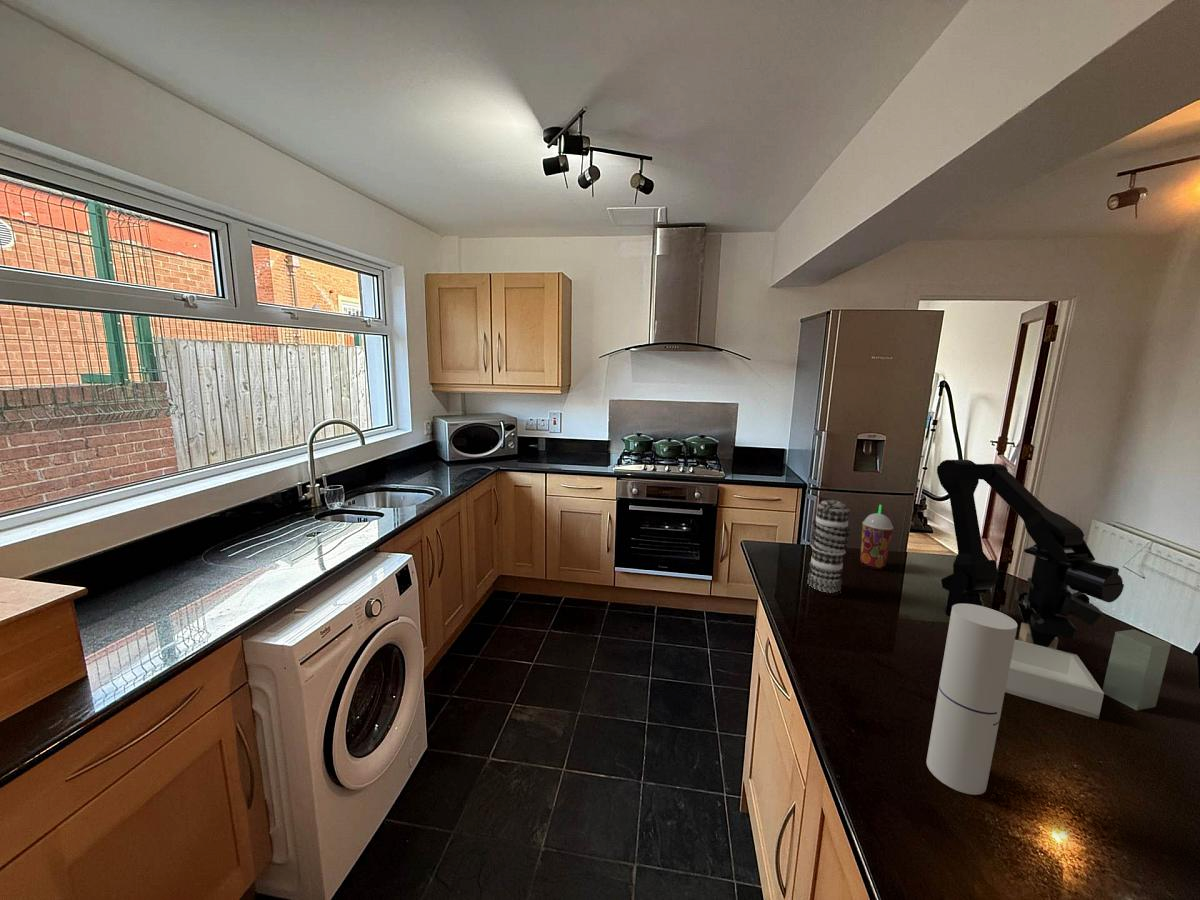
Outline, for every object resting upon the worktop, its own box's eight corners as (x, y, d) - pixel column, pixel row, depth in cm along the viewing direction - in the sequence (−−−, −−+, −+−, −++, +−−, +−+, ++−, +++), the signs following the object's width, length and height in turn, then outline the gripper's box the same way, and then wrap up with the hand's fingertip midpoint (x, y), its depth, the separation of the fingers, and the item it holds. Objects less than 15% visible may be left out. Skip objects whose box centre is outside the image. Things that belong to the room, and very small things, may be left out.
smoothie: (884, 564, 151) (892, 503, 148) (890, 574, 143) (899, 510, 140) (854, 559, 154) (862, 500, 150) (859, 569, 146) (868, 506, 143)
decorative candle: (809, 595, 127) (819, 504, 123) (802, 580, 136) (811, 496, 132) (846, 599, 125) (857, 508, 121) (836, 585, 134) (847, 499, 130)
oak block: (1022, 653, 102) (1027, 632, 102) (1017, 643, 107) (1021, 622, 106) (1053, 661, 100) (1058, 639, 99) (1047, 650, 104) (1051, 629, 103)
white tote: (969, 681, 92) (973, 658, 91) (960, 648, 104) (963, 626, 103) (1098, 719, 83) (1104, 693, 82) (1072, 677, 94) (1076, 654, 94)
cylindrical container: (915, 755, 73) (939, 603, 69) (957, 753, 74) (984, 603, 70) (952, 795, 66) (982, 629, 62) (1000, 793, 66) (1032, 629, 63)
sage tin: (1136, 710, 85) (1151, 646, 83) (1101, 692, 90) (1115, 631, 88) (1155, 706, 87) (1171, 644, 85) (1120, 689, 91) (1134, 629, 89)
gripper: (1121, 608, 89) (1103, 683, 91) (1086, 574, 104) (1072, 640, 107) (1042, 592, 94) (1028, 664, 97) (1020, 562, 110) (1008, 625, 113)
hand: (1035, 647), depth 103 cm, fingers closed on oak block, 5 cm apart
